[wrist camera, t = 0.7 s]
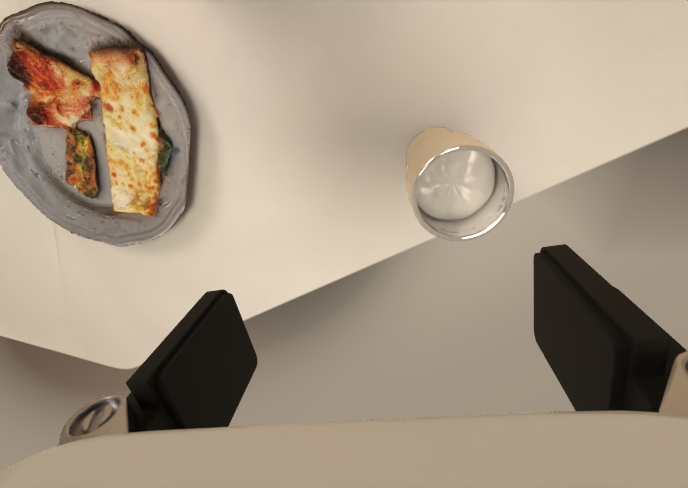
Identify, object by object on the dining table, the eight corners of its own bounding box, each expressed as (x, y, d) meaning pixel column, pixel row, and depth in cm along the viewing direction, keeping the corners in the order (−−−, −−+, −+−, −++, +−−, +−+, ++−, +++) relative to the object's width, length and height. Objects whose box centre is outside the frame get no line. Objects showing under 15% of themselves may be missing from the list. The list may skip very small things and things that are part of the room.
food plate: (-15, -20, 35) (-56, -31, 32) (207, 41, 35) (188, 36, 32) (21, 208, 46) (-7, 217, 42) (192, 256, 45) (177, 269, 42)
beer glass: (427, 202, 39) (447, 262, 25) (388, 153, 37) (387, 188, 23) (483, 161, 36) (539, 203, 23) (443, 107, 35) (478, 117, 21)
